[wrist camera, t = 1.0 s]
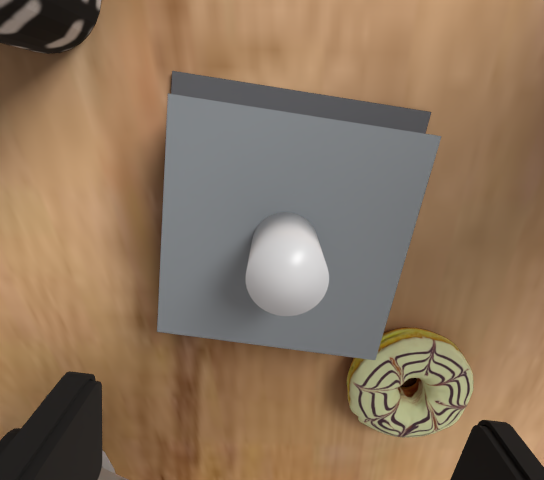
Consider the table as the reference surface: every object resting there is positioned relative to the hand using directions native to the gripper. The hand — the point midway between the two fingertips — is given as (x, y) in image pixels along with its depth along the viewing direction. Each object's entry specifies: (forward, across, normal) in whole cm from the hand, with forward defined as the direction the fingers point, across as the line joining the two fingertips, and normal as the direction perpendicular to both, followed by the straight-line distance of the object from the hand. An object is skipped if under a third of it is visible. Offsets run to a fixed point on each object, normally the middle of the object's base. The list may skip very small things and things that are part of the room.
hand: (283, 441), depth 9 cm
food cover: (+20, 0, 0) cm, 20 cm away
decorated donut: (+21, -14, +12) cm, 28 cm away
